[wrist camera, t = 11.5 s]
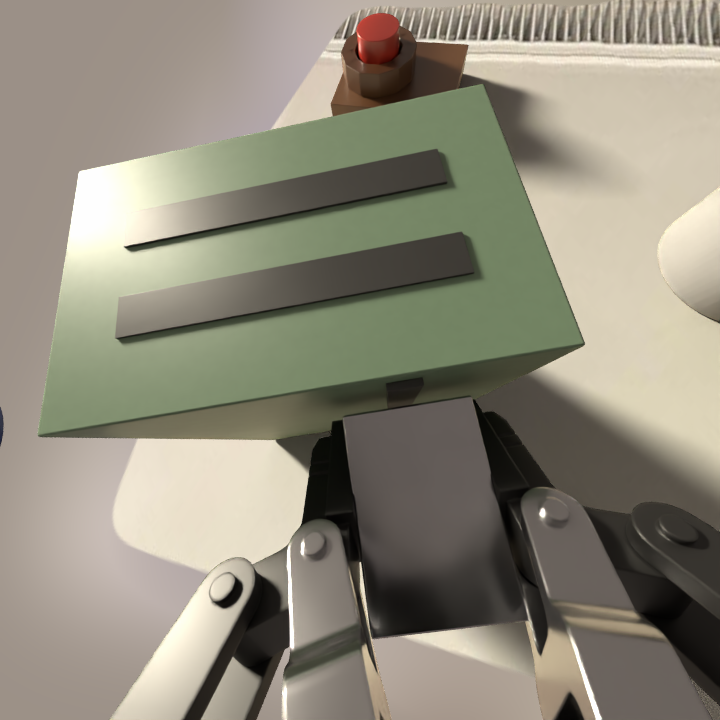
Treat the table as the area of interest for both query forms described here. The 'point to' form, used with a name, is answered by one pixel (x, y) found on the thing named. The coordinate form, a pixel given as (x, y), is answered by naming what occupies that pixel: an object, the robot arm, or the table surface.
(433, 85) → the switch block
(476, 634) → the table surface
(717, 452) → the table surface
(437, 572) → the toaster lever
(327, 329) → the toaster
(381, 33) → the power button
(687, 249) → the coffee mug
